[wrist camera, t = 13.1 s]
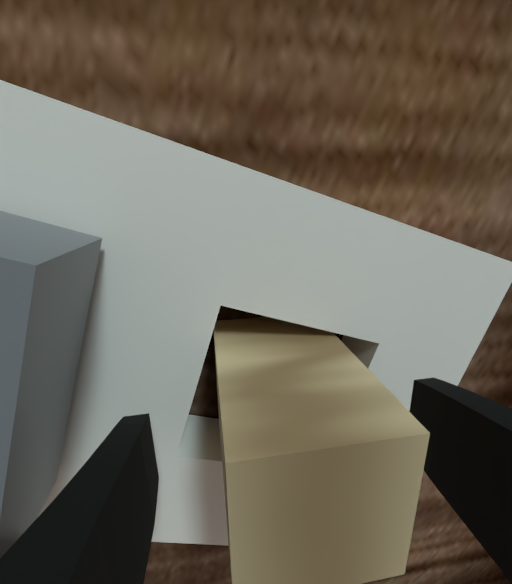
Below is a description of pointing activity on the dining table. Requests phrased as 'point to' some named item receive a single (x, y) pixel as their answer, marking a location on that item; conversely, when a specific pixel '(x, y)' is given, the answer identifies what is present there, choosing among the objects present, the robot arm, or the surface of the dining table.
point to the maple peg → (312, 458)
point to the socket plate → (222, 285)
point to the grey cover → (38, 357)
